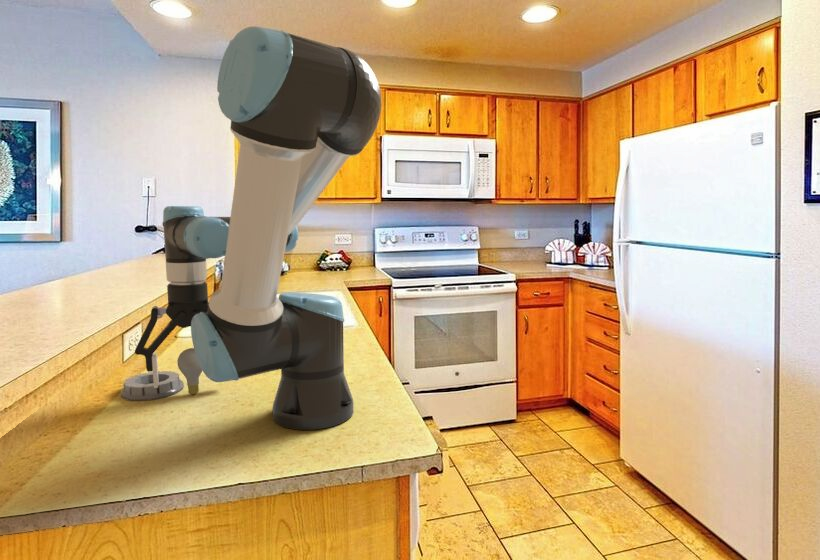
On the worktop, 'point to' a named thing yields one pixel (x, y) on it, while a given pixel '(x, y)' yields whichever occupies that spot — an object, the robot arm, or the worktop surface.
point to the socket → (151, 386)
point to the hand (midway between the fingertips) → (192, 381)
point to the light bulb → (190, 369)
